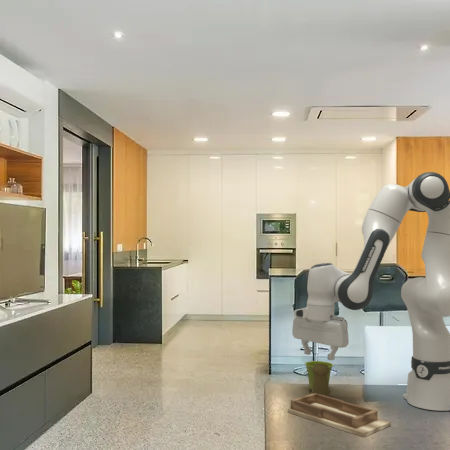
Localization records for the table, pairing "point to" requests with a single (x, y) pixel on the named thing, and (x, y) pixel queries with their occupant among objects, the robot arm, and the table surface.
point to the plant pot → (311, 375)
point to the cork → (320, 379)
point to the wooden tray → (338, 414)
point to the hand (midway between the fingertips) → (319, 356)
